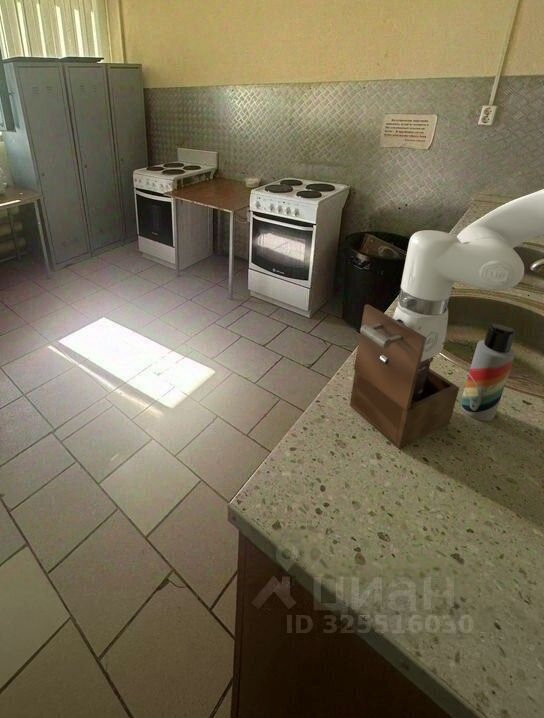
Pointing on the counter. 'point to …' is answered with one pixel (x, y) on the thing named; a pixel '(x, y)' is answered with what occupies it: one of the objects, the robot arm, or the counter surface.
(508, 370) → the lotion bottle
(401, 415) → the chest
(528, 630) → the counter surface
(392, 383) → the lid
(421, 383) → the box
